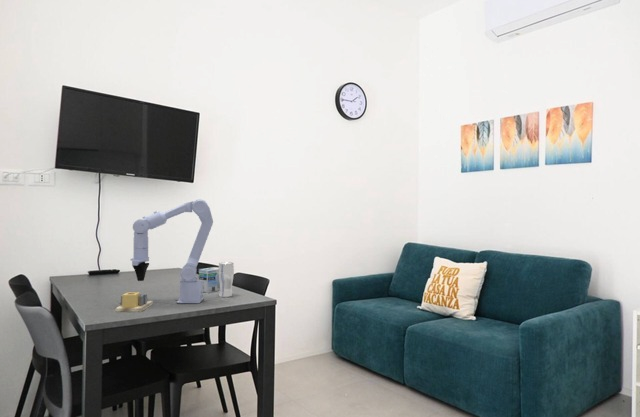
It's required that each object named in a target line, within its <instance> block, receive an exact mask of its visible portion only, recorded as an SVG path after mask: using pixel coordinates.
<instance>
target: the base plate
mask: <svg viewBox="0 0 640 417" xmlns="http://www.w3.org/2000/svg"><path fill="white" fill-rule="evenodd" d="M153 302H154V301H153V300H147V303H146V304H143V305H139V306H137V307H136V308H122V305H121V304H120V305H119V306H117V307H115V309H114V311H115V313H117V312H118V313H119V312H123V313H125V312H132V313H133V312H138V313H139V312H143V311H144V310H146V309H148V308H149V307H151V306H152V305H153Z"/></svg>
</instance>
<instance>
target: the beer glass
mask: <svg viewBox="0 0 640 417" xmlns="http://www.w3.org/2000/svg"><path fill="white" fill-rule="evenodd" d="M234 267H235V266H234V262H231V261H229V262H227V261H226V262H225V261H223V262H219V263H218V267H217V268H218V277H219V284H220V291H218V292H219V294H218V297H220V298H229V297H230V298H231V297H233V290H232V289H233V280H234V274H235V268H234Z"/></svg>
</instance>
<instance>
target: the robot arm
mask: <svg viewBox="0 0 640 417" xmlns="http://www.w3.org/2000/svg"><path fill="white" fill-rule="evenodd" d="M211 212H212V211H211V208H210V206H209V205H208V203H207V202H206V201H205V200H203V199H195V200H194V201H193V200H192V201H189V202H185V203H182V204H180V205H178V206H176V207H174V208H171V209H170V210H168V211H165V212H164V211H162V210H161V211H160V210H159V211H157V210H155V211H153V213H152V214H150V215H148V216H146V215H145V216H142V219H140V218H139V219H137V220H135V221H134V222H133V224H132V230H133V258H130V261H131V265H132V268H133V269H134V272H135V276H136V279H137V281H138V282H144V281H145V277H146V273H147V269H148V268H149V265H150V263H149V261H150V257H149V232H148V231H149V230H154V229H156V228H159V227H160V226H163V225H165V224H167V220H169V219H171V218H174V217H176V216H178V215H181V214H183V213H194V214H196V216H197V217H198V219H199V221H200V222H201V224H200V227H199V230H198V232H197V235H196V237H195V239H194V240H195V241H194V243H193V246H192V248H191V251H190V254H189V256H188V258H187V262H186V263H185V264H184V266H182V268H181V270H180V275H179V276H180V280H179V299H178V300H177V302H176V304H200V303H202V301H203V300H204V292H203V282H202V281H199V279H198V278H197V277H196V276H197V272H198V271H197V270H198V269H197V266H198V264H199V261H200V258H201V256H202V253H203V251H204V248H205V245H206V242H207V240H208V238H209V237H208V236H209V234H210V232H211V229H212V227H213V224H214V220H213V216H212V213H211Z"/></svg>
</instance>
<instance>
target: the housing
mask: <svg viewBox="0 0 640 417" xmlns="http://www.w3.org/2000/svg"><path fill="white" fill-rule="evenodd" d="M147 301H148V293H140V296H139V305H143V304H146V303H147ZM121 305H122V295H121V296H120V306H121Z"/></svg>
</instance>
